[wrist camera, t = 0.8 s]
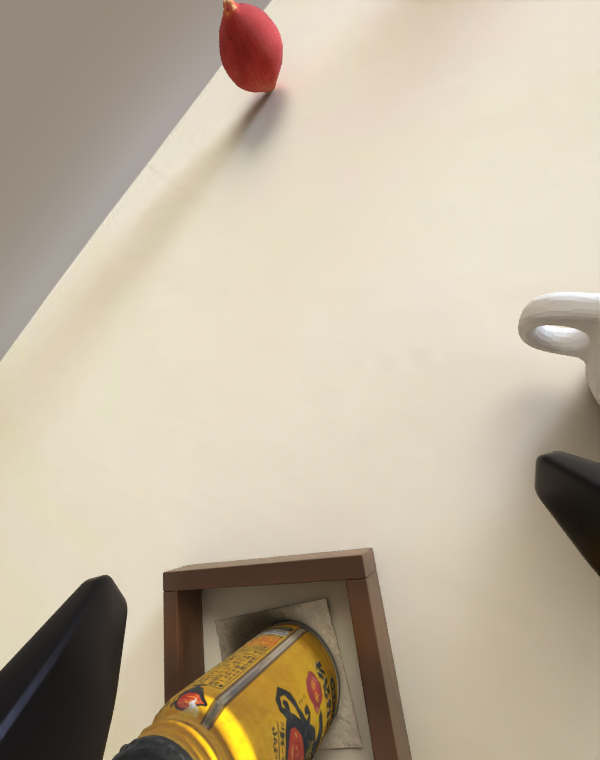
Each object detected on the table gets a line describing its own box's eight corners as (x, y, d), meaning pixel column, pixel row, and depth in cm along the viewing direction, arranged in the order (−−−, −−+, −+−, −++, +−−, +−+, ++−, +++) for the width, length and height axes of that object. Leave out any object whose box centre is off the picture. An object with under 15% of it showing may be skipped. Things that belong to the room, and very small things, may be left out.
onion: (237, 107, 39) (185, 24, 32) (269, 61, 38) (224, -33, 31) (271, 119, 36) (223, 31, 29) (307, 70, 35) (267, -32, 28)
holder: (427, 844, 18) (421, 894, 16) (194, 798, 23) (165, 832, 21) (372, 547, 22) (361, 554, 20) (187, 565, 27) (162, 572, 25)
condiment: (363, 745, 20) (242, 1040, 9) (237, 753, 23) (31, 990, 12) (327, 597, 23) (200, 696, 12) (217, 619, 25) (36, 717, 15)
